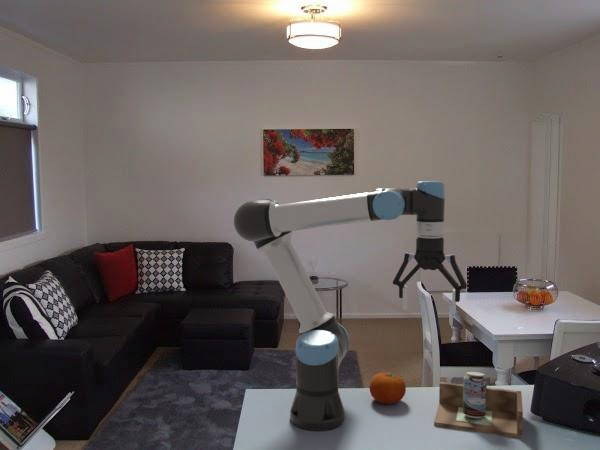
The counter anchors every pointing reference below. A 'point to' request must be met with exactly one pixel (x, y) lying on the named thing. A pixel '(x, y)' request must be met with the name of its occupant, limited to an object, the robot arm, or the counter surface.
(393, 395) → the fruit
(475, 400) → the labeled jar
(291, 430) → the counter surface
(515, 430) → the tray
